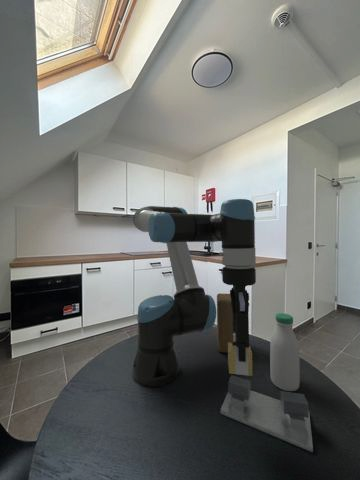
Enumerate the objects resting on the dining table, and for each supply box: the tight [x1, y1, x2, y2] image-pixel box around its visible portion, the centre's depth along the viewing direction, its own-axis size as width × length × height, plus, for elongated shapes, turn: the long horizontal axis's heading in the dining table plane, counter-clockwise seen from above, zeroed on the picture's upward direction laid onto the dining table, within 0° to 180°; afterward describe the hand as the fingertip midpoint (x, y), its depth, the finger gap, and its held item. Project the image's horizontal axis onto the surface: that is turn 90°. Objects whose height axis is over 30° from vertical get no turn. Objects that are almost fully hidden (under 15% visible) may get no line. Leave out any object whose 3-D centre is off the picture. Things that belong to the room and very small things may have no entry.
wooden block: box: [216, 293, 235, 354], centre depth 80 cm, size 10×10×20 cm
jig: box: [220, 374, 314, 453], centre depth 49 cm, size 19×10×6 cm, turn 61°
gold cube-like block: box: [227, 342, 253, 377], centre depth 47 cm, size 5×4×5 cm
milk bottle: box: [269, 312, 301, 392], centre depth 60 cm, size 8×8×20 cm
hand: (240, 366), depth 47 cm, fingers closed on gold cube-like block, 4 cm apart
